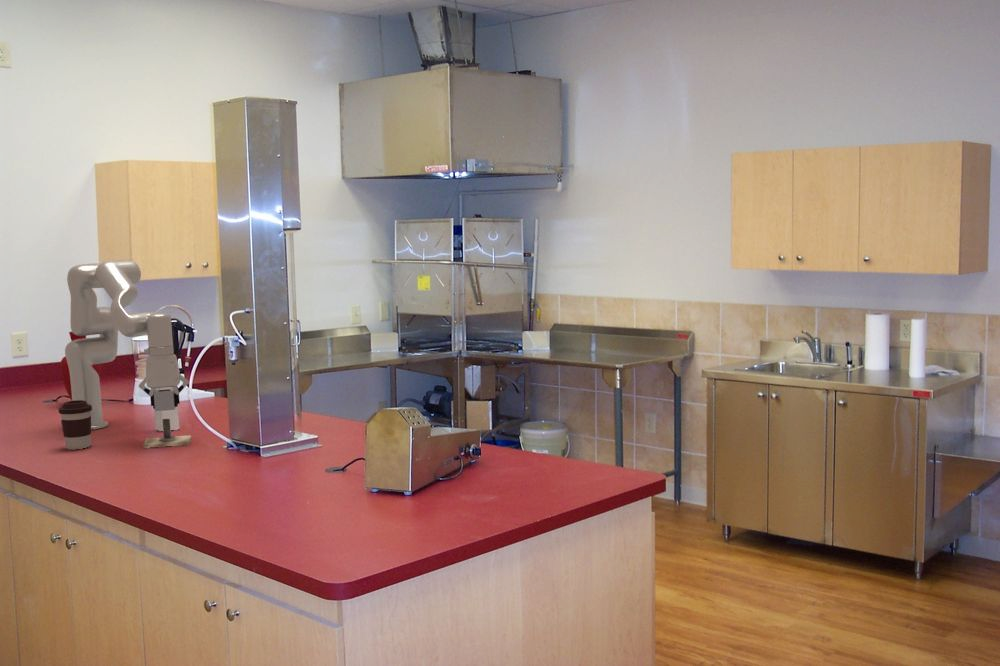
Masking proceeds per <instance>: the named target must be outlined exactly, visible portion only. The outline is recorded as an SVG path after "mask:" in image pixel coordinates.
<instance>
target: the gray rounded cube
mask: <svg viewBox="0 0 1000 666" xmlns="http://www.w3.org/2000/svg"><path fill="white" fill-rule="evenodd" d="M174 394H175V392H174V390H173V389H161V390H155V391H154V404H155V411H165V410H175V408H176V407H175V401H174Z"/></svg>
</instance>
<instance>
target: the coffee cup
mask: <svg viewBox="0 0 1000 666" xmlns="http://www.w3.org/2000/svg"><path fill="white" fill-rule="evenodd" d="M91 410H92V405H89V404H87V402H86V401H84V400H75V401H71V400H69V401H65V402H63V403H62V405H61V406H60V407H58V414H60V423H61V422H62V423H61V427H62V433H63V437H64V442H65V448H66V449H67V450H69V451H76V449H79V450H84V449H83V448H85V449H87V447H88V448H90V447H89V446H91V435H92V430H91V416H90V411H91ZM61 418H62V419H61Z"/></svg>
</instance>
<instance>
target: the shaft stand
mask: <svg viewBox="0 0 1000 666" xmlns="http://www.w3.org/2000/svg"><path fill="white" fill-rule="evenodd" d="M162 433H163V436H162V437H161V436H160V437H151V438H146V439H145V441H144V443H143V449H144V448H147V449H151V448H150V447H159V448H166V447H165V446H172V447H181V446H183V445H184V446H190V445H191V441H192V434H190V435H177V436H175V435H172V434H171V433H172V431H170V419H163V432H162Z"/></svg>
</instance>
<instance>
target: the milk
mask: <svg viewBox="0 0 1000 666" xmlns="http://www.w3.org/2000/svg"><path fill="white" fill-rule="evenodd" d="M161 389H173V388H172V387H163V388H155V390H161ZM153 412H154V425H155V431H157V430H159V431H158V432H161V431H163V419H170V431H171V430H174V431H178V429H179V430H180V419H179V405H178V406H177V407H176V408H175V410H165V411H155V409H154V411H153ZM171 432H172V431H171Z"/></svg>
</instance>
